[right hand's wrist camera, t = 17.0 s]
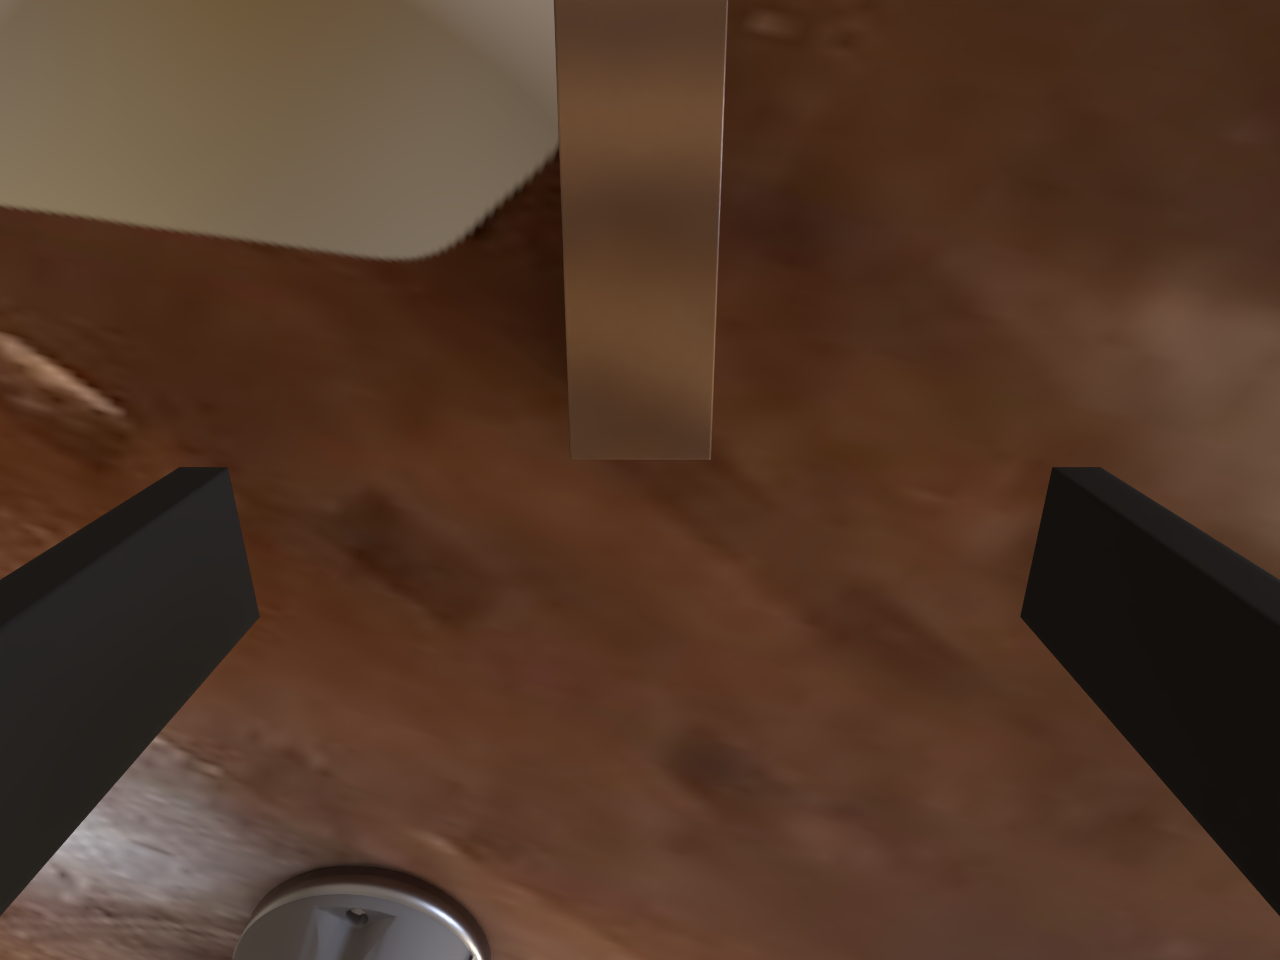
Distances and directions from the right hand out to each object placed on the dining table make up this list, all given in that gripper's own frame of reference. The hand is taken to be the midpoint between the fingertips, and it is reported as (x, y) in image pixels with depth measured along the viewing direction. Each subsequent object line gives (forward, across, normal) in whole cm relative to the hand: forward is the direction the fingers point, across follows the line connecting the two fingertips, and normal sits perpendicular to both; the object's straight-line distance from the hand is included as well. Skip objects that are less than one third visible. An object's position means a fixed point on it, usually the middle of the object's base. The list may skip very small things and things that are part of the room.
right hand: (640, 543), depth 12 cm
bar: (+22, 0, -8) cm, 24 cm away
